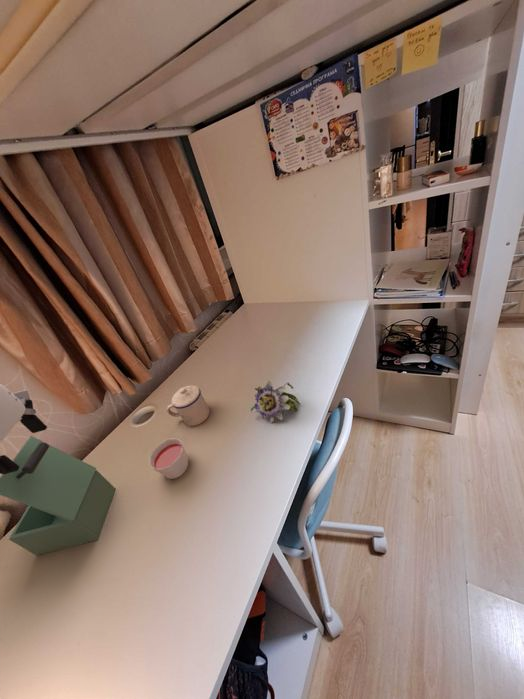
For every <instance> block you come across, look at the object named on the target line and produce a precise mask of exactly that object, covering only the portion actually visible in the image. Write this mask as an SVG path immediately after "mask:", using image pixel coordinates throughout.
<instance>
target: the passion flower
mask: <svg viewBox="0 0 524 699" xmlns="http://www.w3.org/2000/svg"><path fill="white" fill-rule="evenodd" d="M285 386H289V387H290V388H291V389H292V390H293V389H294V386H293V385H292V384H290V383H289V382H285V384H284V385H282V386H279V387H277V388H276V389H275V388H274V386H273V384H272V382H271V381H270V380H268V381H267V382H266V385H265V386H264V387H262V386H257V387H255V388H254V390H255V391H257V393H255V394H254V398H255V399H254V400H255V403H254V406H252V408H251V409H250V412H251V413H254V414H255V413H258V414H259V415H261V417H262V419H268V420H269V422H270V423H271V424H272V423H273V422H274V421H275V418H277V419H278V420H280V421H282V420H283V419H284V414H283V411H286V410H287V411H288V410H290V409H291V410H292V411H293V412H297V411H299V407H298V405H300V404H301V403H300V402H299V400H298V398H297V397H296V395H294V394H291V393H288V392H287V391H285V390H286V387H285ZM297 404H298V405H297Z"/></svg>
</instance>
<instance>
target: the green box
mask: <svg viewBox="0 0 524 699" xmlns="http://www.w3.org/2000/svg"><path fill="white" fill-rule="evenodd" d="M115 491H116V487H115V486H114V485H113V484H111V482H110V481H109V480H108V479H106V478H105V476H103V475H102V474H101V472H99V471H98V470H97V469H96V470H95V473H94V475H93V477H92V480H91V482H90V484H89V487H88V489H87V491H86V493H85V496H84V498H83V500H82V503H81V505H80V507H79V510H78V512H77V514H76V517H75V519H74V521H72V522H71V521H68V520H65V519H63V518H60V517H58V516H55V515H52V514H50V513H47V512H44V511H42V510H39V509H36V508H34V507H31V506H28V505H27V507H26V508H25V510H24V512H23V513H22V515H21V518H20V519H19V521H18V522H17V524H16V526H15V527H14V529H13V531H12V532H11V535H10V536H9V538H8V540H9V541H11V542H12V543H14V544H15V545H17V546H19V547H21V548H22V549H25V551H28V552H30V553H31V554H32V555H35V556H41V555H44V554H49V553H53V552H56V551H60V550H65V549H68V548H72V547H76V546H80V545H84V544H87V543H91V542H96V541H99V538H100V536H101V532H102V530H103V526H104V524H105V522H106V521H105V520H106V518H107V515H108V512H109V510H110V506H111V504H112V500H113V499H114V498H113V497H114V495H115Z"/></svg>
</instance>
